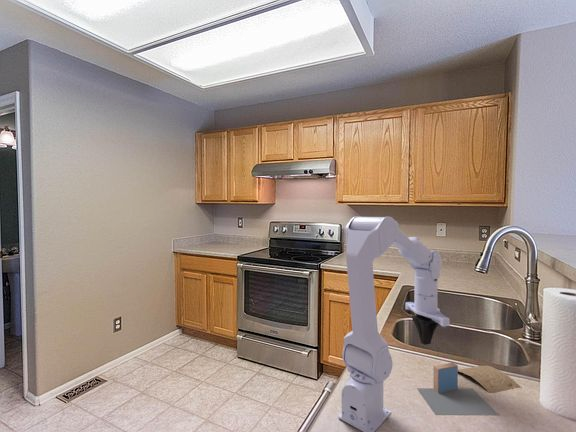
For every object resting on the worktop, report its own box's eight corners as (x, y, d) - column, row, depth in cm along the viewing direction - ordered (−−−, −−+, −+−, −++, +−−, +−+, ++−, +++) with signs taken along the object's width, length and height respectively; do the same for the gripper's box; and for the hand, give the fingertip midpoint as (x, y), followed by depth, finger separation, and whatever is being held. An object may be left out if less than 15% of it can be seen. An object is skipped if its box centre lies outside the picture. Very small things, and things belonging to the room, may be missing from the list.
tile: (438, 393, 75) (438, 369, 75) (433, 389, 77) (433, 366, 77) (458, 389, 77) (458, 365, 77) (452, 385, 78) (452, 362, 78)
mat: (435, 416, 67) (435, 414, 67) (416, 389, 77) (416, 388, 77) (499, 416, 67) (499, 414, 67) (472, 390, 77) (472, 388, 77)
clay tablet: (526, 394, 76) (526, 383, 76) (496, 402, 73) (496, 390, 73) (474, 366, 90) (474, 357, 90) (447, 372, 87) (447, 362, 87)
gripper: (459, 299, 77) (459, 353, 78) (419, 286, 91) (419, 331, 91) (436, 302, 75) (436, 357, 76) (399, 288, 89) (399, 334, 89)
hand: (425, 343), depth 83 cm, fingers closed
